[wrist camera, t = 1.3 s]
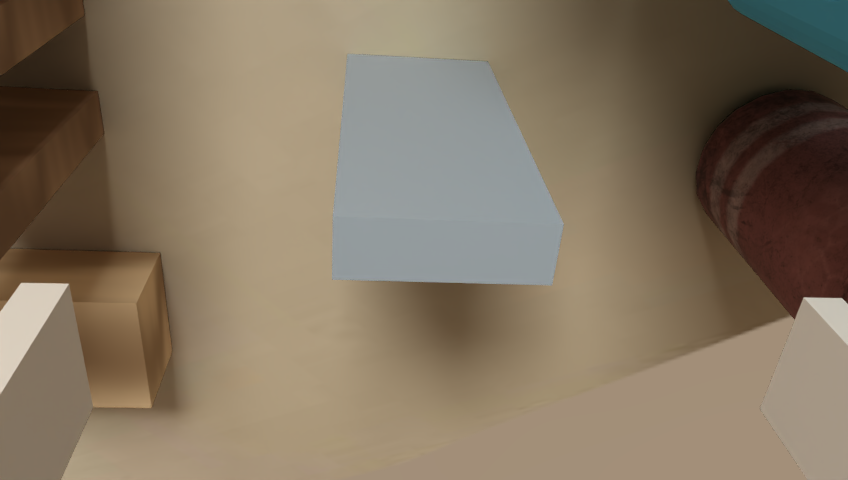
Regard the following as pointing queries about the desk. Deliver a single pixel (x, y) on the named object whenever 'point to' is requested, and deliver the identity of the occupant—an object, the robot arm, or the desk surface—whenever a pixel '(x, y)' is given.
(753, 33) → the desk surface
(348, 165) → the tile
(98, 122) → the row tile
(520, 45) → the desk surface
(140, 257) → the block
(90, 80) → the desk surface
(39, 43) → the row tile
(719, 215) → the can
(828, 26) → the block
